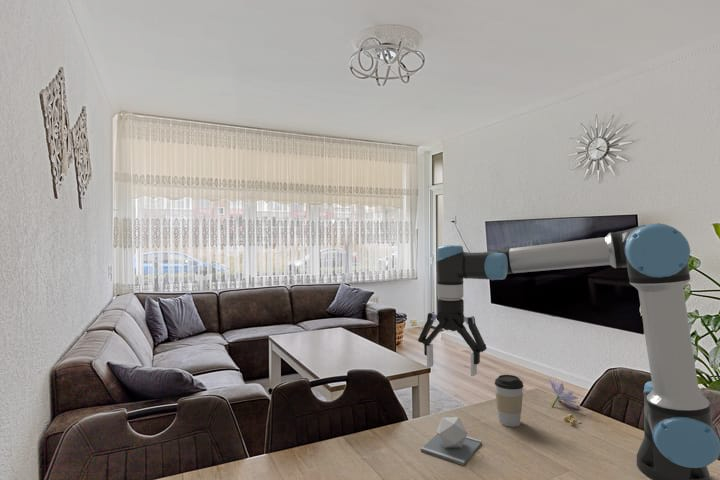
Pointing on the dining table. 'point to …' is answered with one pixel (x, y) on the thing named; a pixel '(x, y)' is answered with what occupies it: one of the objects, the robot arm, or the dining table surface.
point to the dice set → (571, 417)
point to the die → (451, 432)
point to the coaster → (452, 449)
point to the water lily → (562, 394)
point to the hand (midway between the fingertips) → (451, 370)
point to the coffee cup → (509, 399)
